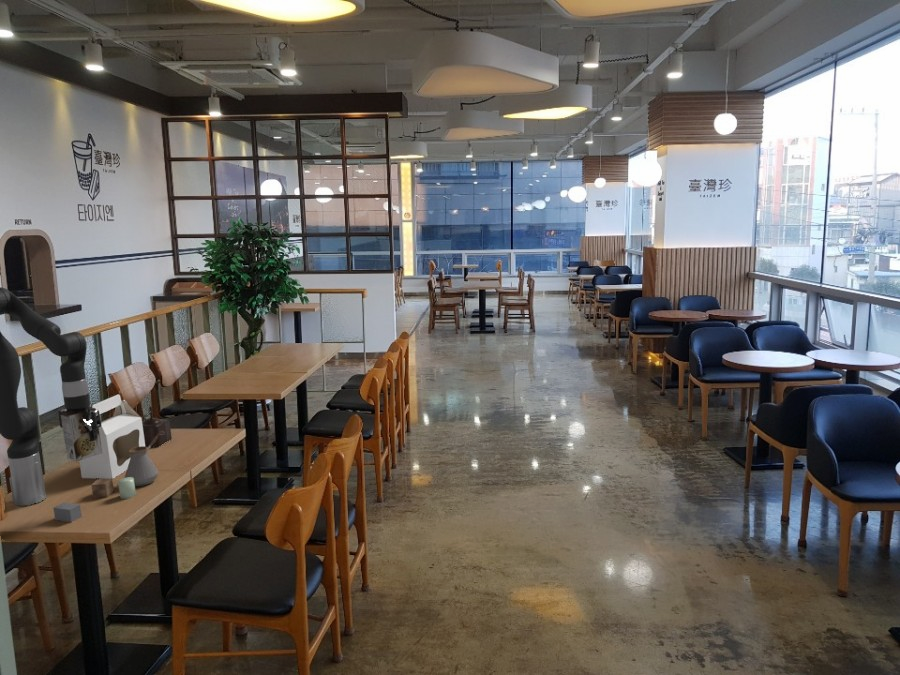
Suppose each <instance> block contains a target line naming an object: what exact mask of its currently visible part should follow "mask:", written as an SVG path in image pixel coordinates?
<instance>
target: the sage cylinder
mask: <svg viewBox="0 0 900 675" xmlns="http://www.w3.org/2000/svg"><path fill="white" fill-rule="evenodd" d="M117 484H118V491H119V497H120V499H121V500H127V499H131V497H132V498H134V497H136V496H137V494H136V492H137V491H136V486H135V484H134V478H133V477H126V478H125V477H123V478H120V479H119V480H118V481H117ZM133 496H134V497H133Z"/></svg>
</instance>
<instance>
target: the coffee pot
mask: <svg viewBox="0 0 900 675" xmlns="http://www.w3.org/2000/svg"><path fill="white" fill-rule="evenodd" d="M161 432H163V431H160V432H159V433H158V434H157V436H156V437H155V438H154V439H153V440H152V442H151V443H150V445H149V446H148V447H145V446H141V447H135V448H132V449H130V450H129V453H130V454H131V458H130V461H129V465H128V468H127V471H125V475H124V478H126V477H133V478H134V484H135V487H143V486H146V485H150V484H152V483H153V482H154V481H155V479H156V478H157V477H158V475H159V470H158V469H157V467H156V466H155V464H154V463H153V460H151V458H150V457H149V455H148V454H147V453H148V451H149V450H150V448H152V447H151V446H152V445H153V444H154V443H155V441H156V440H157V438H158V436H160V434H161ZM164 434H165V433H164ZM164 434H161V435H164Z"/></svg>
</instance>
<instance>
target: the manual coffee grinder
mask: <svg viewBox="0 0 900 675" xmlns="http://www.w3.org/2000/svg"><path fill="white" fill-rule="evenodd" d="M148 409H149V410H148V412H147V413H145V414H144V415H143V416H142V415H141V416H140V417H141V418H142V426H143V433H144V440H145V447H147V448H148V446H149V445H150V443H151V442H152V440H153V439H154V438H155V437H156V436H157V434H158V433H159V432H160V431H163V432H161V434H164V433H165V434H164V435H161V434H160V436H158V438H157V440H156V441H155V443H154V444H153V445H152V446H151V447H150V448H160V447H162V446H163V445H162V444H164V443H165V442H167V441H169V440H170V441H172V440H173V438H172V431H171V430H172V429H171V422H170V419H162V418H161V419H160V418H157V417H154V416H153V411H154V410H153V406H149V407H148ZM133 410H134V411H135V409H134V408H133ZM148 416H150V417H149V418H147V417H148ZM171 439H172V440H171ZM170 441H169V442H170ZM167 443H168V442H167ZM165 444H166V443H165ZM165 444H164V445H165ZM161 445H162V446H161ZM159 446H160V447H159Z"/></svg>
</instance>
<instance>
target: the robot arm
mask: <svg viewBox="0 0 900 675" xmlns="http://www.w3.org/2000/svg"><path fill="white" fill-rule="evenodd" d="M2 315H9V316H12V317H14V318H16V319H18V321H19V322H20V325H21V327H22V329H23V331H24V332H26V333H27V334H28V335H29V336H32V337H33V338H34V339H37V340H38V341H39V342H41V343H43V345H44V346H45V347H46V348H47V349H48V350H49V351H50V352H51V354H53V355H54V356H57V357H67V360H66V361H64V362H63V363H62V364H61V365H60V367H59V371H60V377H61V391H62V398H63V403H64V408H62V409H59V410H58V421H59V422H58V423H59V427H60V428H62V421H61V415H60V413H61V412H65V411H79V412H84V416H85V418H87V417H88V415H91V416H90V417H91V418H92V420H90V421H88V422H87V421H86V420H85V419H83V423H84V426H87V428H88V429H89V430H90V431H89V435H90V441H95V440H96V439H97V431H96V429H97V428H99V427H101V426H102V425H101V422H102V419H101V414H99V410H94V411H91V410H90V408H89V406H90V405H91V397H90V393H89V392H90V391H89V386H88V382H87V379H86V378H87V377H86V370H85V364H86V363H85V362H86V358H87V357H86V355H87V349H88V348H87V345H88V344H87V341H86V338H85V336H84V334H82V333H80V332H78V331H72V332H68V333H64V334H61V333H62V330H61V328H60V326H59V325H58V324H56V323H55V322H53V321H51V320H49V319H47V318H46V317H44V316H42V314H39V313H38V312H36V311H34V309H32V308H31V307H30V306H29V305H27V304H26V303H25V302H24V301H22V300H21V299H20V298H19V297H18V296H16V294H14V293H13V292H11V291H10V290H9V289H7V288H4V287H0V316H2ZM21 376H22V367H21V363H20V358H19V353H18V351H17V350H16V348H15V347H14V345H13V344H12V343H11V342H10V341H9V340H8V339H7V338H6V337H5V335H3V333H2V332H1V331H0V435H1V437H3V438H4V439H5V440H10V441H11V443H10V444H9V446H8V447H7V449H6V454H7V459H8V466H9V470H10V477H9V485H10V490H11V497H12V501H13V504H15V505H16V506H19V507H25V506H24V505H27V506H31V504H32V505H35V504H34V503H36V504H38V502H39V503H41V502H42V500H43V501H44V500H46V499H47V494H46V488H45V481H44V474H43V470H42V462H41V457H40V450H39V445H40V430H39V422H38V418H37V416H36V413H35V412H34V411H33V410H32V409H31V408H29V407H24V406H23V407H19V405H18V392H19V386H20V381H21ZM90 407H91V406H90ZM90 423H92V426H91V425H90ZM62 429H63V428H62ZM45 498H46V499H45Z"/></svg>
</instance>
